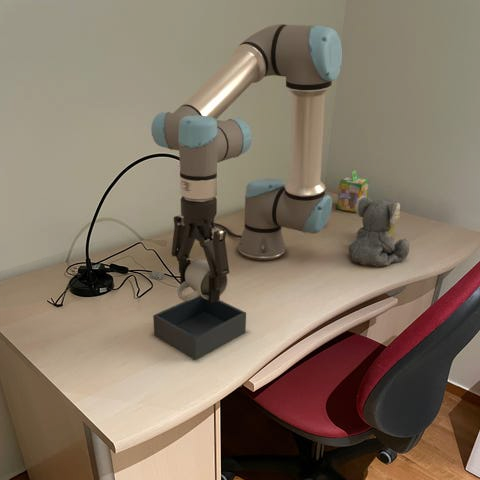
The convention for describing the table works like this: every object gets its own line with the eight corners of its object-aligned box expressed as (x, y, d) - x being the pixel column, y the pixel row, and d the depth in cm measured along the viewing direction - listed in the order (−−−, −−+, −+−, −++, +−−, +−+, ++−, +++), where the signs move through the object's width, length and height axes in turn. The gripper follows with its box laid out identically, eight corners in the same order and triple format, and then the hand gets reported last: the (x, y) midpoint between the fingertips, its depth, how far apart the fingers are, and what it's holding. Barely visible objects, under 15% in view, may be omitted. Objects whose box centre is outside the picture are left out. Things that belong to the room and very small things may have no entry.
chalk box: (357, 213, 203) (363, 175, 196) (336, 209, 207) (340, 172, 200) (365, 207, 210) (371, 170, 203) (344, 203, 214) (349, 167, 207)
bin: (154, 335, 123) (153, 315, 120) (204, 311, 133) (204, 292, 131) (195, 360, 115) (195, 339, 112) (245, 332, 125) (246, 312, 122)
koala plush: (411, 259, 166) (423, 199, 156) (379, 275, 155) (391, 212, 145) (365, 243, 177) (375, 186, 167) (333, 257, 166) (341, 197, 156)
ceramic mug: (209, 281, 124) (208, 252, 120) (228, 295, 118) (228, 264, 114) (170, 293, 119) (168, 263, 115) (188, 308, 113) (187, 276, 109)
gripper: (151, 188, 111) (156, 283, 122) (222, 213, 98) (221, 316, 110) (178, 182, 115) (180, 274, 127) (249, 205, 103) (245, 304, 115)
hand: (199, 293), depth 118 cm, fingers closed on ceramic mug, 9 cm apart
